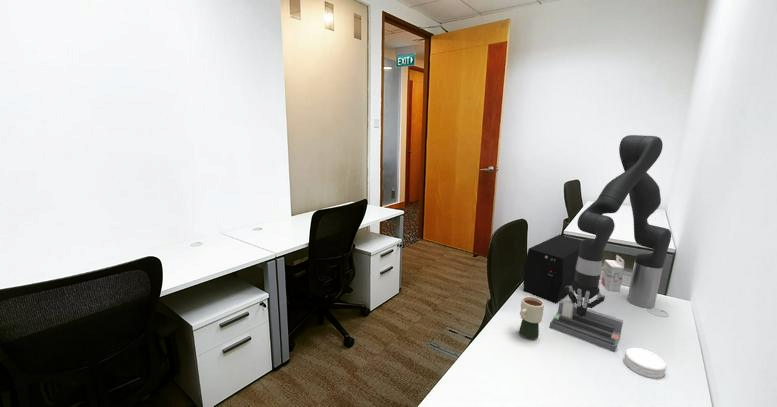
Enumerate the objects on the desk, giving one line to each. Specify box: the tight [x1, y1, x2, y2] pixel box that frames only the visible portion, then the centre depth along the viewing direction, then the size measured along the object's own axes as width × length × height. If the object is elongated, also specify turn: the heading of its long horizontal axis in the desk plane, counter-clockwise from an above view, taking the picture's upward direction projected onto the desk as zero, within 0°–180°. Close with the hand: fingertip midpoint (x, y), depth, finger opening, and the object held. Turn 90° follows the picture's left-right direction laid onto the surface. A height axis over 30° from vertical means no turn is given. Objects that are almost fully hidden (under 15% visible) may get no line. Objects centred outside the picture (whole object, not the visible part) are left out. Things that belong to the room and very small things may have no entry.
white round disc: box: [623, 347, 667, 379], centre depth 102 cm, size 10×10×4 cm
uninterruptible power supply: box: [522, 234, 584, 305], centre depth 151 cm, size 16×34×20 cm, turn 132°
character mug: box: [518, 295, 545, 340], centre depth 115 cm, size 11×7×13 cm, turn 123°
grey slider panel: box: [549, 300, 624, 353], centre depth 118 cm, size 12×20×6 cm, turn 49°
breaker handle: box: [562, 298, 576, 319], centre depth 122 cm, size 3×3×7 cm
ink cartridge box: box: [600, 254, 625, 293], centre depth 152 cm, size 9×5×15 cm, turn 168°
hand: (580, 315), depth 119 cm, fingers closed
